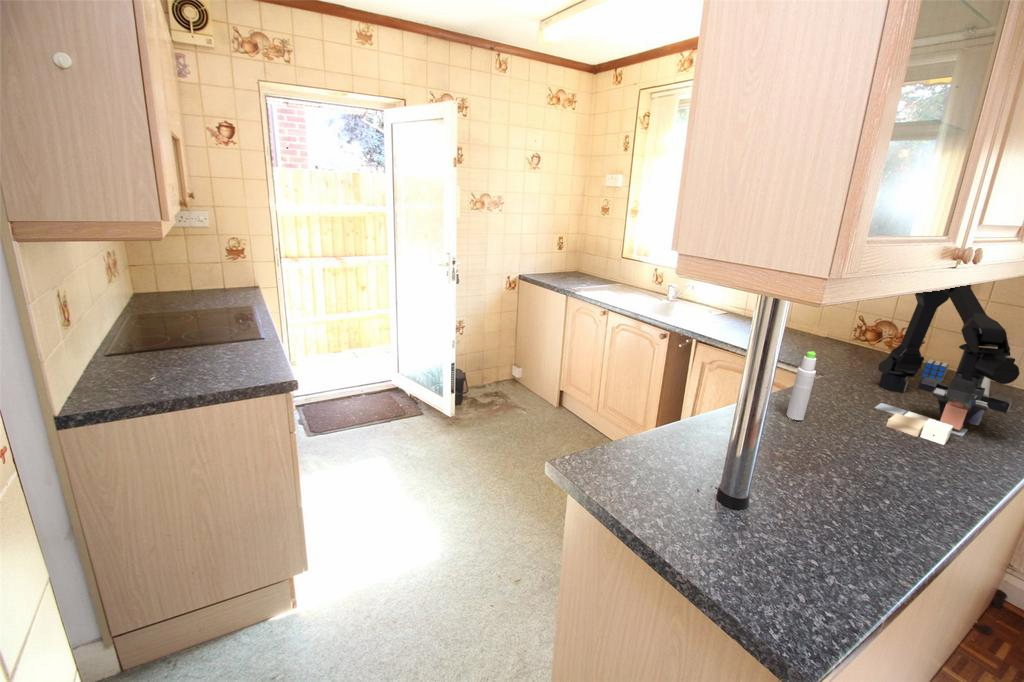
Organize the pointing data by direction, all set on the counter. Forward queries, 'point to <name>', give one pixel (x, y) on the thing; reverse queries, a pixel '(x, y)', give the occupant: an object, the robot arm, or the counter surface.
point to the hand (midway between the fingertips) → (952, 421)
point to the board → (914, 416)
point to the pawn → (955, 414)
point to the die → (936, 431)
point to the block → (906, 424)
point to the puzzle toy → (935, 370)
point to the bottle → (802, 387)
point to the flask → (977, 416)
